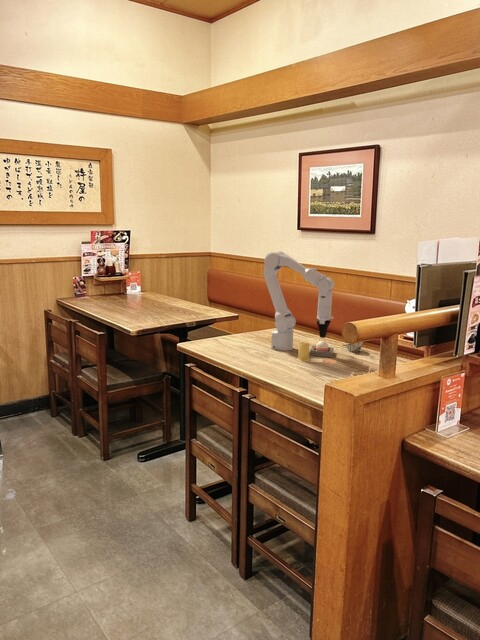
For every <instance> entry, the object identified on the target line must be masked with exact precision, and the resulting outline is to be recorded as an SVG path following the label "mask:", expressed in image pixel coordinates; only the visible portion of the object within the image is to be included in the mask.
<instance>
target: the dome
mask: <svg viewBox="0 0 480 640" xmlns="http://www.w3.org/2000/svg"><path fill="white" fill-rule="evenodd" d="M315 346H316V350H317V351H328V352H329V347H330V346H329V345H328V342H326V341H324V340H319V341H318V342H317V343H316V344H315Z"/></svg>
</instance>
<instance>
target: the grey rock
mask: <svg viewBox="0 0 480 640" xmlns="http://www.w3.org/2000/svg"><path fill="white" fill-rule="evenodd" d="M365 344H366V342H363V341H362V342H360V343H355V344H348V343H346V342H345V344H343V345H342V346H343V347H345V348H347V350H348V351H349V352H350V353H357V352H361V349H362V347H363V345H365Z"/></svg>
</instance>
